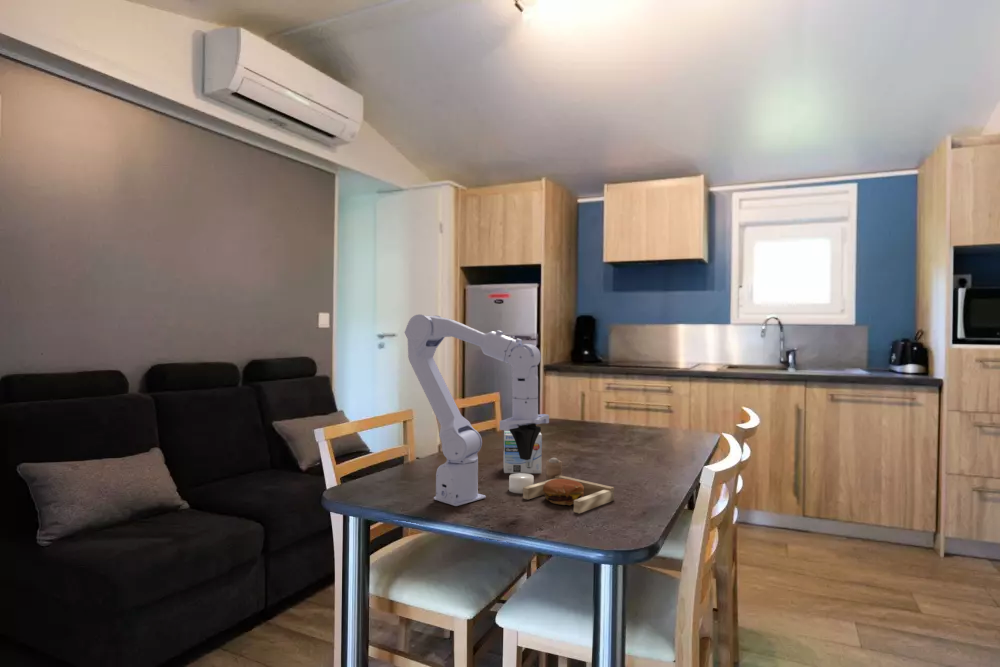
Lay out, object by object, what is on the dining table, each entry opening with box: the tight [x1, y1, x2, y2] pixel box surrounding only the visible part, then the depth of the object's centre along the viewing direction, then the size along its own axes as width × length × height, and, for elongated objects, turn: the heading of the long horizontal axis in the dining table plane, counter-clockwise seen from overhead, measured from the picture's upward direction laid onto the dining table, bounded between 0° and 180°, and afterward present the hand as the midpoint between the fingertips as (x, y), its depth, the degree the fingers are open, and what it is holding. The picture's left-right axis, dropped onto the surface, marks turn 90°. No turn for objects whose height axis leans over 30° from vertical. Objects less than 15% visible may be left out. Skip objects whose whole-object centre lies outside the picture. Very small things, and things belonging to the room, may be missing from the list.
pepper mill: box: [545, 457, 563, 481], centre depth 143 cm, size 4×4×7 cm
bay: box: [522, 475, 615, 514], centre depth 131 cm, size 14×16×3 cm
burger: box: [543, 479, 585, 507], centre depth 130 cm, size 10×9×5 cm
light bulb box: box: [502, 430, 543, 474], centre depth 158 cm, size 11×7×11 cm, turn 92°
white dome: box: [508, 473, 535, 495], centre depth 138 cm, size 6×6×4 cm
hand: (525, 458), depth 126 cm, fingers closed
